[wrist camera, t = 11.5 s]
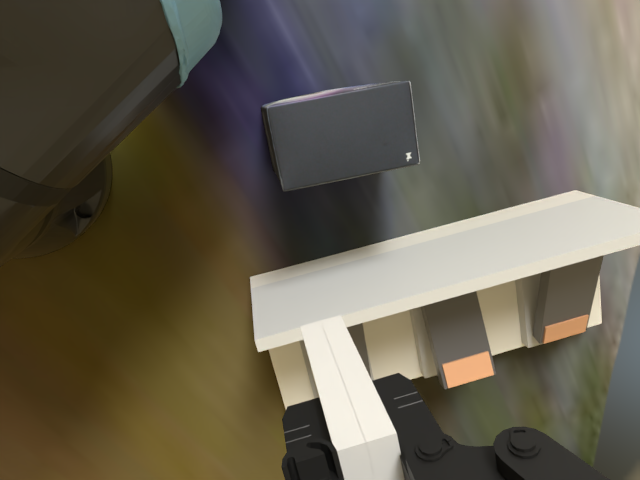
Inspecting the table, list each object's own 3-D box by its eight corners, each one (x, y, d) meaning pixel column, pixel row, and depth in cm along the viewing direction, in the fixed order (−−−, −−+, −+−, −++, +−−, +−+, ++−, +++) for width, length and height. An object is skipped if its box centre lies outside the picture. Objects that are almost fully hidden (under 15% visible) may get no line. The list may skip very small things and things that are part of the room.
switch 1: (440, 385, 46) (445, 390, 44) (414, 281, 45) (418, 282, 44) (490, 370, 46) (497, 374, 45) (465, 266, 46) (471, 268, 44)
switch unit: (284, 398, 52) (299, 492, 39) (249, 277, 48) (254, 340, 35) (582, 311, 55) (683, 373, 42) (575, 190, 51) (684, 220, 38)
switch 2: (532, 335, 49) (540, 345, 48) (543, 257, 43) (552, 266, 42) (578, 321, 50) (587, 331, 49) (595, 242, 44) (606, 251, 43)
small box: (374, 80, 44) (414, 75, 34) (384, 152, 46) (424, 167, 36) (258, 101, 43) (264, 103, 33) (273, 174, 45) (283, 196, 35)
